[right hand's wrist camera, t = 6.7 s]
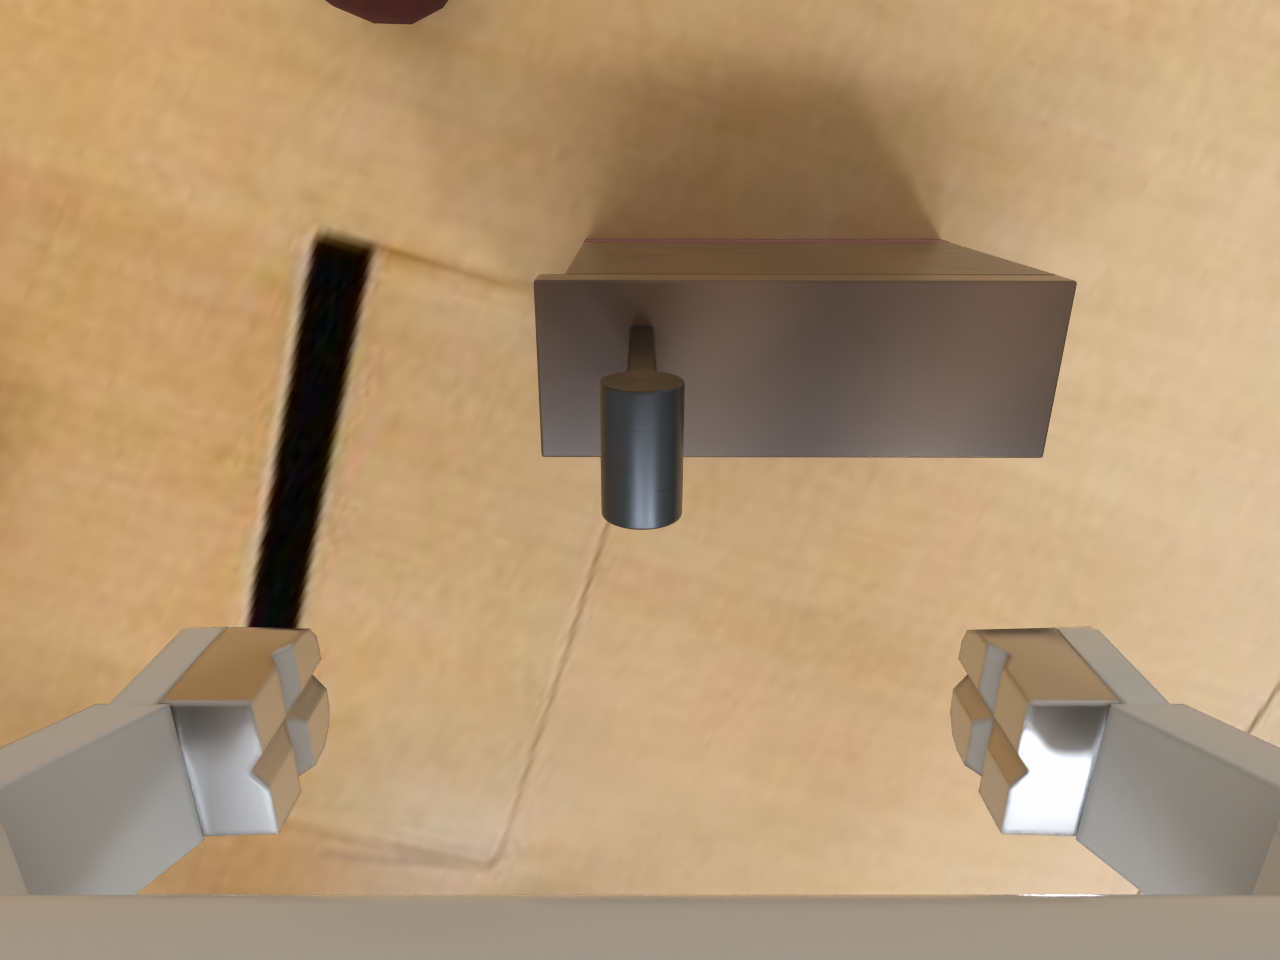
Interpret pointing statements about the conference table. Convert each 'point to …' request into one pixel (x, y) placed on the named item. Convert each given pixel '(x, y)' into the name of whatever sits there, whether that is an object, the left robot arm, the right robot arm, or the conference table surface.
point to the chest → (787, 258)
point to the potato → (390, 9)
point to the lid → (790, 371)
